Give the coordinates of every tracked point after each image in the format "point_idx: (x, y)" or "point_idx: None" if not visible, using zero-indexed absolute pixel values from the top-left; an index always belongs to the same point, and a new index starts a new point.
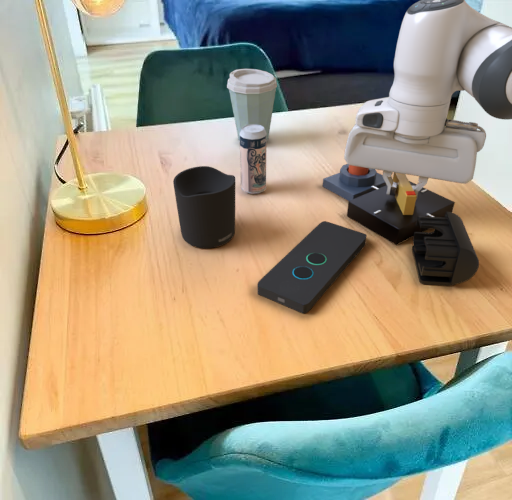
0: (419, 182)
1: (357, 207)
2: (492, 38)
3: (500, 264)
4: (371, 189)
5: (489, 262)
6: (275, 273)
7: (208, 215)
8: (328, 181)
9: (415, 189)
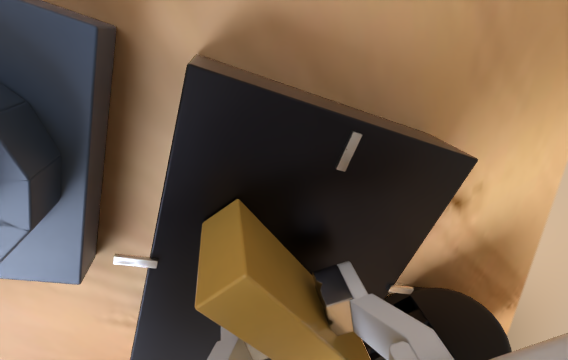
0: (379, 330)
1: None
2: None
3: (524, 252)
4: (90, 186)
5: (504, 259)
6: None
7: None
8: None
9: (361, 337)
